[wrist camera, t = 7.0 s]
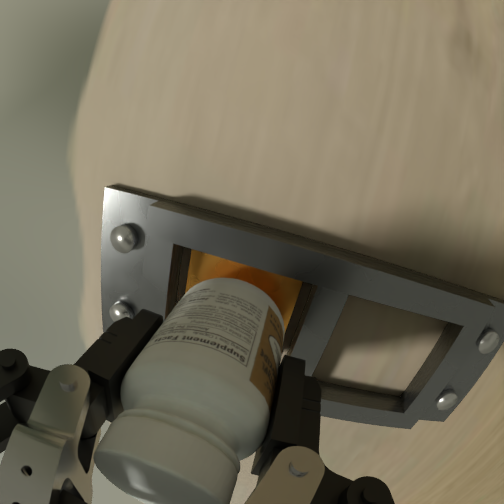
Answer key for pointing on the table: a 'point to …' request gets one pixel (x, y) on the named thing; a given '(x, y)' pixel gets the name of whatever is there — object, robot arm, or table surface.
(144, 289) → the metal frame plate
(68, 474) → the robot arm
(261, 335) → the pill bottle
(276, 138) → the table surface
